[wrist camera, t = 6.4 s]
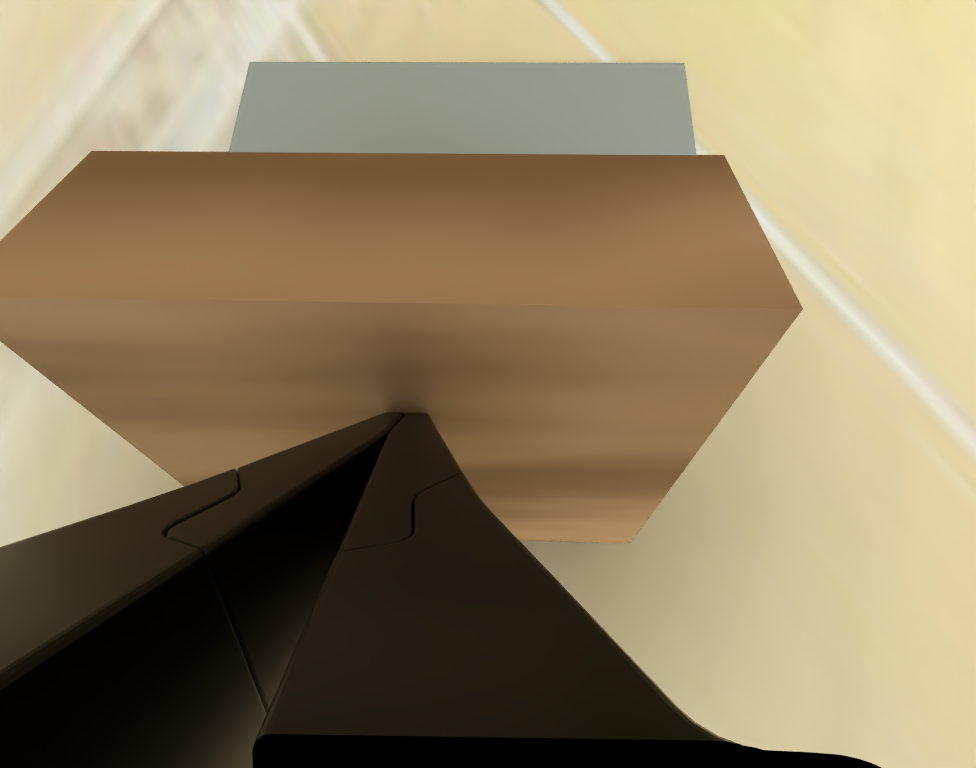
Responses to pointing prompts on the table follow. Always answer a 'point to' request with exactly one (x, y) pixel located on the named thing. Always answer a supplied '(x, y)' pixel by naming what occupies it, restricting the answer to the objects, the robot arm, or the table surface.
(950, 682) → the table surface
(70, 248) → the walnut block
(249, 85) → the mat
